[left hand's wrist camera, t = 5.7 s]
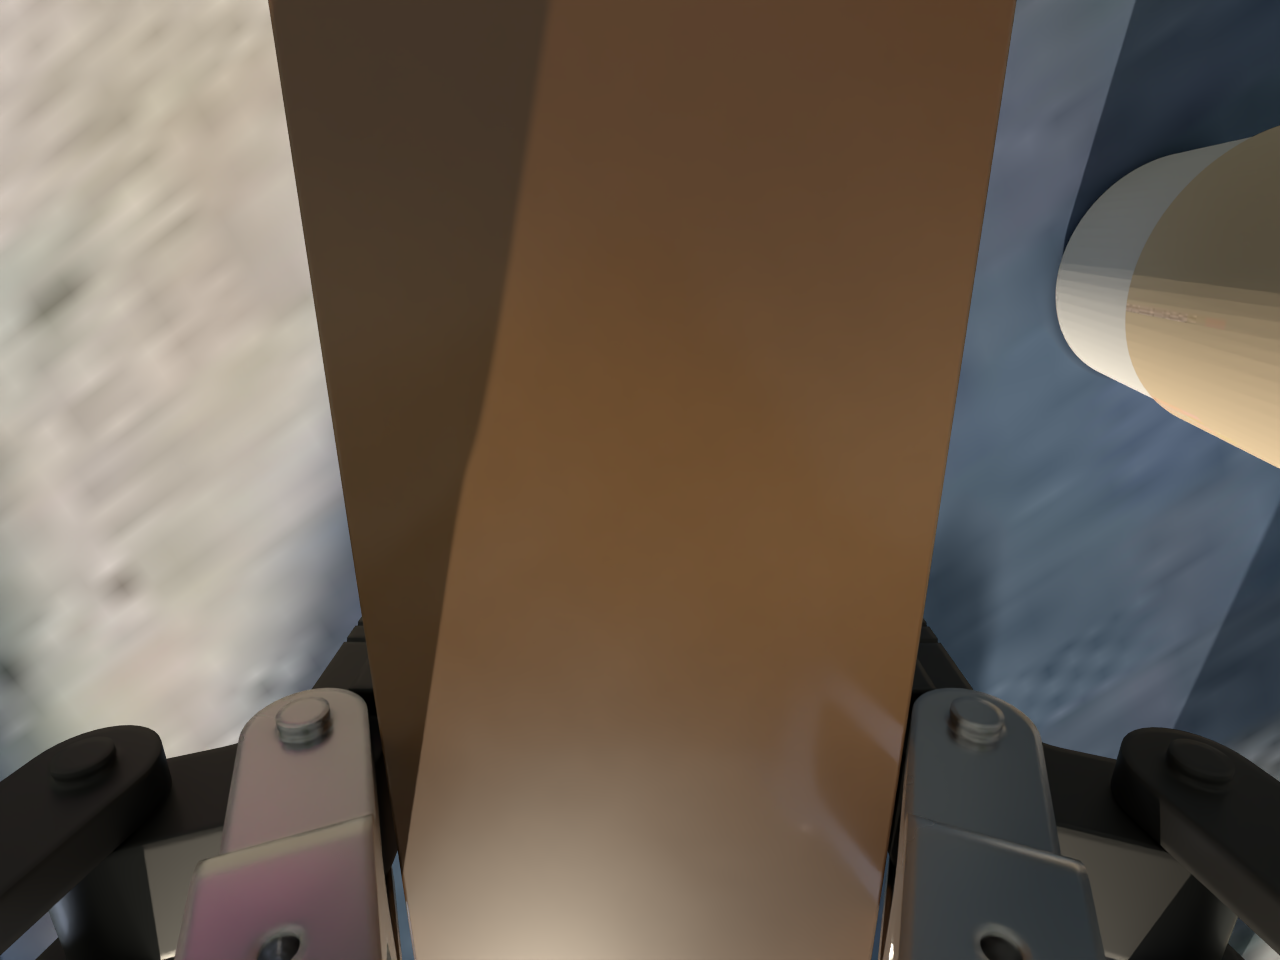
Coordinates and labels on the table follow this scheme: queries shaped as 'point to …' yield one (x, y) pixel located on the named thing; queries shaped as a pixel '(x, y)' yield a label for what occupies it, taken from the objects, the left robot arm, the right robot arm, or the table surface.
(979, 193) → the bar
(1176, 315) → the coffee cup
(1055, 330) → the table surface
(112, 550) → the table surface
